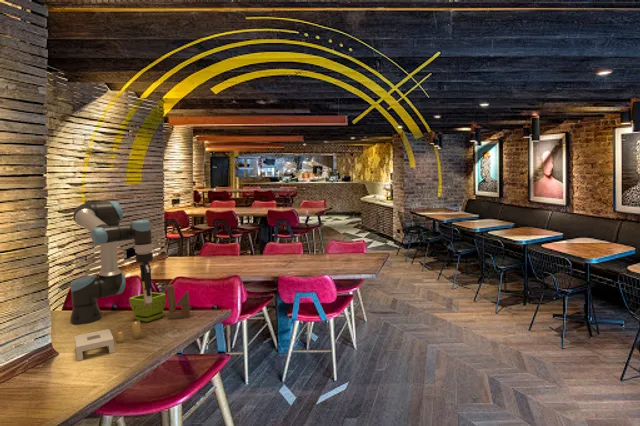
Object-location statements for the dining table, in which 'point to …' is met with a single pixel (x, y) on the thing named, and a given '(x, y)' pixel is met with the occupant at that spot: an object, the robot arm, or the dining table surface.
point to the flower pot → (148, 312)
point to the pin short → (120, 336)
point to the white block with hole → (94, 342)
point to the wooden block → (177, 304)
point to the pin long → (144, 297)
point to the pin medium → (136, 329)
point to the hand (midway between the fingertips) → (148, 301)
